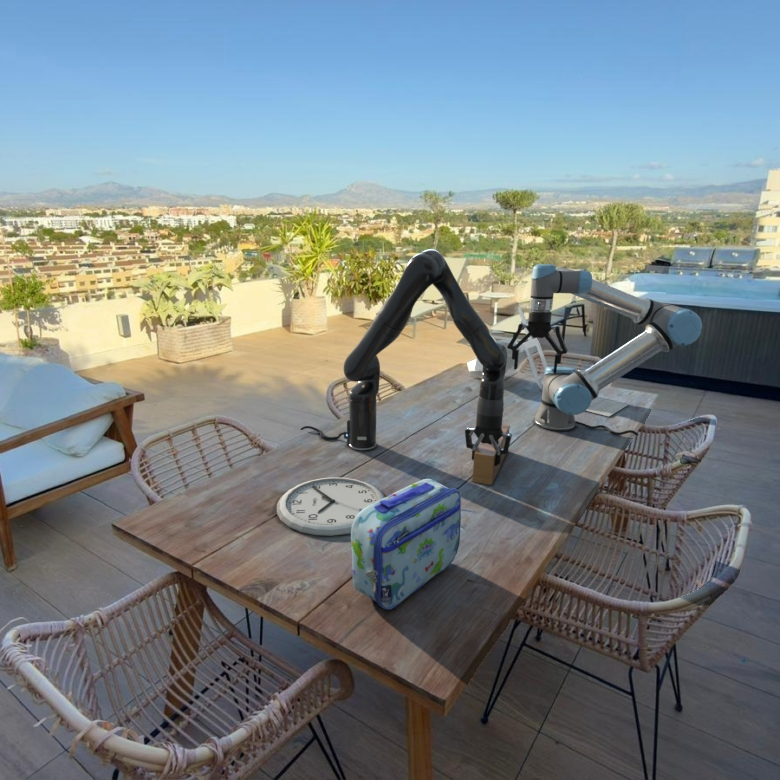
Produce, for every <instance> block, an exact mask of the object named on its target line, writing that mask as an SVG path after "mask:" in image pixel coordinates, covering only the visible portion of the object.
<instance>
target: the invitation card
mask: <svg viewBox="0 0 780 780" xmlns="http://www.w3.org/2000/svg"><path fill="white" fill-rule="evenodd" d="M628 406H629V404H627V403H623V402H618V401H614V400H609V399H605V398H601V397H597V398H595V399H593V400H592V401H591V404H590V406H589V408H588V409H587V410H586V411H585V412H587V413H593V414H596V415H600V416H604V417H608V418H609V417H611V416H613V415H614V414H616V413H617V412H619V411H621V410H623V409H624V408H626V407H628Z"/></svg>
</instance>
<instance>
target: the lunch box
mask: <svg viewBox="0 0 780 780" xmlns="http://www.w3.org/2000/svg"><path fill="white" fill-rule="evenodd" d="M461 499H462V498H461V493H460V491H459V490H458V489H457V488H454V487H451V488H449V487H447V486H446V485H444V484H441V483H440V482H437V481H436V480H434V479H431V478H424V479H421V480H418V481H416V482H414V483H412V484H410V485H408V486H405V487H404V488H401V489H399V490H397V491H395V492H393V493H392V494H389V495H387V496H385V498H383V499H381V500H379V501H377V502H375V503H374V504H371V505H369V506H367V507H366V508H364V509H362V510H361V511H360V512H359V513H358V514H357V516H356V517H355V519H354V521H353V524H352V529H351V533H350V547H351V548H350V552H351V576H352V584H353V588H354V590H356V591H357V592H359V593H360V594H363V595H365V596H367V597H368V598H369V599H371V600H372V601H374V602H376V604H377V606H378V607H379V608H382V609H384V610H386V611H387V610H388V611H390V610H393V609H394V608H396V607H397V606H398V605H400V604H401V603H402V602H403V601H405V600H406V599H407V598H408V597H409V596H411V595H412V594H413V593H415V592H417V590H419V589H420V588H422V587H423V586H424V585H425V584H426V583H428V581H430V580H431V579H432V578H434V577H435V576H438V574H440V573H441V572H443V571H445V570H446V569H447V568H448V567H449V566H451V564H452V563H453V562H454V560H455V558H456V556H457V554H458V551H459V548H460V541H461V522H462V521H461V519H462V515H461V513H462V512H461V510H462V509H461V508H462V506H461V505H462V504H461V503H462V502H461Z"/></svg>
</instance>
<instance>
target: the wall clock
mask: <svg viewBox="0 0 780 780" xmlns="http://www.w3.org/2000/svg"><path fill="white" fill-rule="evenodd" d="M385 497H386V496H385V494H384V493H383V492H382V491H381V490H380V489H379V488H377V487H376V486H374V485H372V484H371V483H369V482H365V481H362V480H359V479H355V478H349V477H338V476H337V477H335V476H333V477H332V476H331V477H322V478H317V479H312V480H307V481H305V482H302V483H299V484H297V485H295V486H293V487H292V488H290V489H288V490H287V491H286V492H285V493H284V494H283V495H281V496H280V498H279V499H278V502H277V503H276V515H277V517H278V518H279V520H280V521H281V522H282V523H283V524H285V525H286V526H287V527H288V528H290V529H293V530H295V531H297V532H299V533H303V534H308V535H312V536H327V537H328V536H329V537H331V536H332V537H333V536H342V535H350V534H351V529H352V524H353V521H354V519H355V517H356V516H357V514H358V513H359V512H360V511H361V510H362V509H364V508H366V507H367V506H369V505H371V504H374V503H375V502H377V501H379V500H381V499H383V498H385Z"/></svg>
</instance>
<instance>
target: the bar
mask: <svg viewBox="0 0 780 780" xmlns="http://www.w3.org/2000/svg"><path fill="white" fill-rule="evenodd" d="M510 427H511V426H510V425H509V424H503V423H502V431H503V433H506V434H509V433H510ZM499 443H500V446H501V449H503V448H504V445H505V441H504V440H503V437H501V438H500V439H499ZM506 455H507V453H506V454H501V462H500V464H499V465H497V466H495V457H496V451H495V449H494V448H493V445H490V444H487V443H482V442H481V443H480V444H479V446H478V447H477V450H476V451H475V453H474V460H473V466H472V468H473V469H472V479H471V480H472V481H471V482H473V483H478V484H484V485H488V486H492V485H493V483H494V481H495V478H496V476H497V474H498V472H499V471H500V468H501V465H502V463H503V462H504V459H505V457H506Z"/></svg>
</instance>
